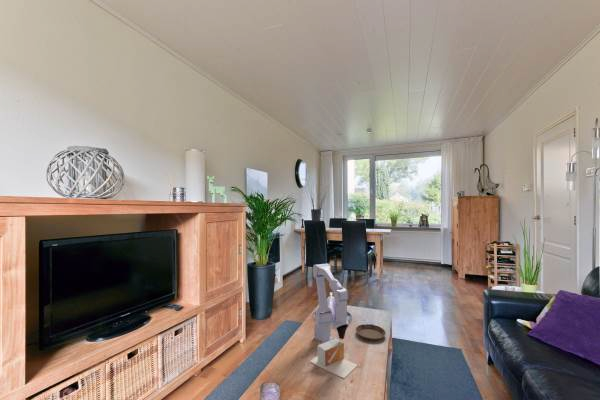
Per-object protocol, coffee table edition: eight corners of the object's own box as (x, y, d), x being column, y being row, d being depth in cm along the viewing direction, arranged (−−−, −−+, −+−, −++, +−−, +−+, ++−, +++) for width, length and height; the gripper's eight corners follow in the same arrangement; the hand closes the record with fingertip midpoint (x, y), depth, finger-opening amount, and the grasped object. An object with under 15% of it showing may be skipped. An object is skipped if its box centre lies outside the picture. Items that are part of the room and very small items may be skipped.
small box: (344, 358, 138) (325, 367, 130) (336, 352, 143) (317, 360, 136) (344, 342, 138) (325, 350, 130) (336, 337, 143) (317, 345, 136)
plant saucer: (389, 343, 154) (389, 337, 154) (359, 343, 154) (359, 337, 154) (380, 328, 172) (380, 324, 172) (353, 328, 172) (353, 323, 172)
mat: (310, 362, 135) (310, 361, 135) (324, 351, 145) (324, 350, 145) (343, 378, 122) (343, 378, 122) (357, 365, 132) (357, 365, 132)
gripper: (340, 319, 132) (340, 346, 132) (355, 310, 143) (355, 335, 143) (328, 315, 136) (328, 341, 136) (343, 306, 147) (343, 331, 147)
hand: (341, 338), depth 140 cm, fingers closed
